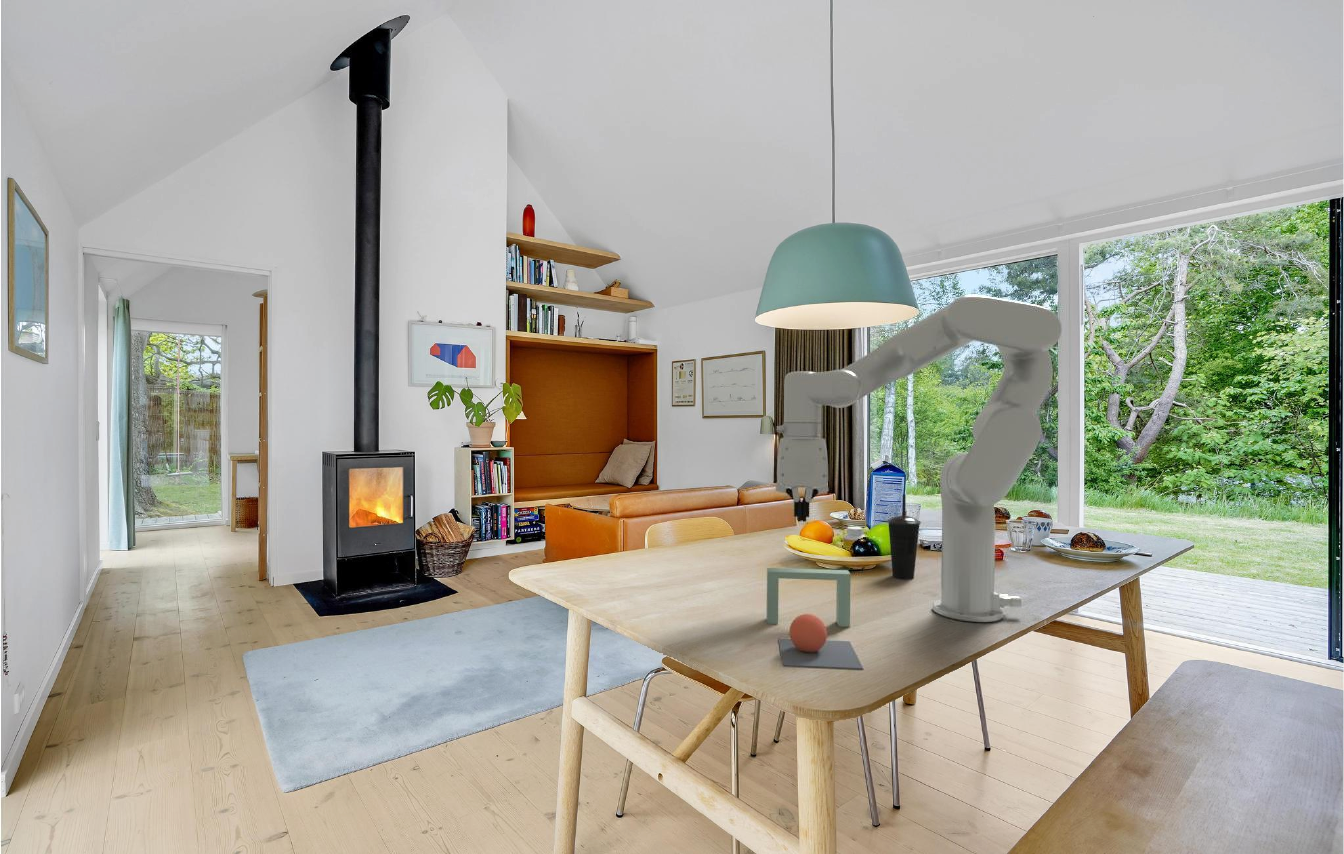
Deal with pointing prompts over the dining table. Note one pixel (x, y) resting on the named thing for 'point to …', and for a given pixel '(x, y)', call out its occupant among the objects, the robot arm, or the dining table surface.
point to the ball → (808, 633)
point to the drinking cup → (903, 544)
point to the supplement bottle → (852, 537)
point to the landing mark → (820, 655)
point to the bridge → (817, 574)
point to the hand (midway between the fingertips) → (801, 520)
